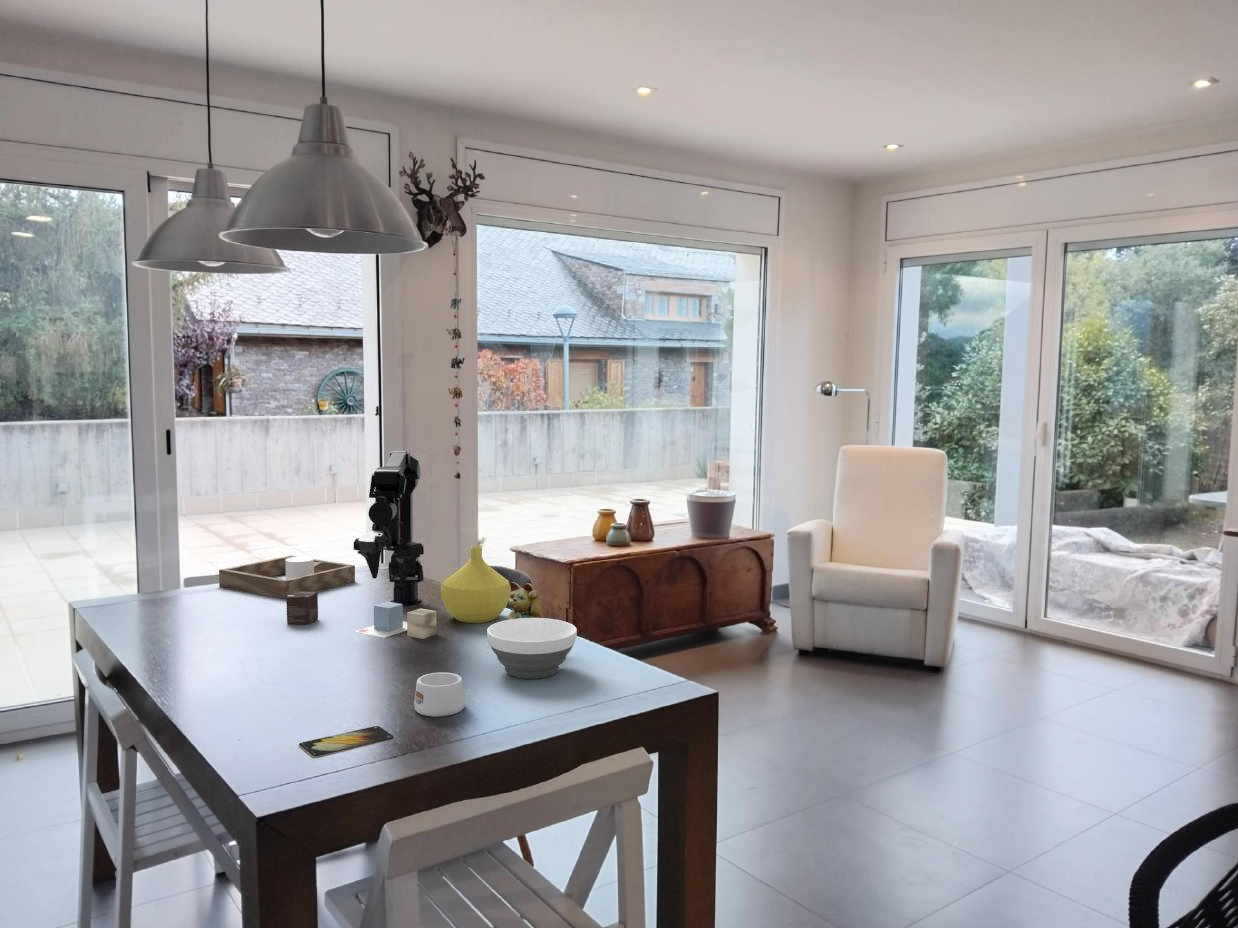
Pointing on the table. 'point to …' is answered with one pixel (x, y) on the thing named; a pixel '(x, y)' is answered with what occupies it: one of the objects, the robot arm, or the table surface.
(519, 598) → the decorative figurine
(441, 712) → the mug
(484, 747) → the table surface
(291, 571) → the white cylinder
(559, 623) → the bowl
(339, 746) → the smartphone
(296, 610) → the box
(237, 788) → the table surface
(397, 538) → the robot arm
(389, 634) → the letter
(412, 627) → the block
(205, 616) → the table surface
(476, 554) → the vase
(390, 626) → the cube
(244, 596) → the table surface
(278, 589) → the wooden tray
